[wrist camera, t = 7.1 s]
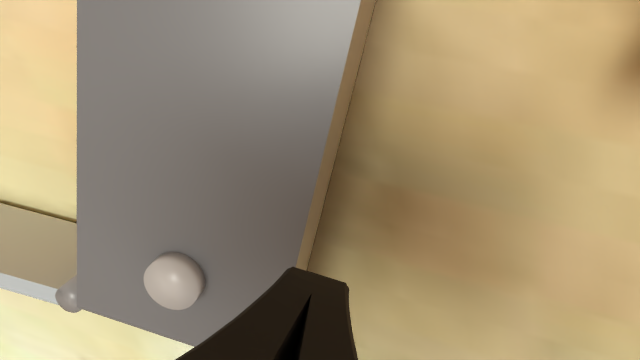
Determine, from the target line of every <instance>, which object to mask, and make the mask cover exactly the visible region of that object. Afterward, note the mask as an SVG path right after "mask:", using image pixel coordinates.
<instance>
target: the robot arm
mask: <svg viewBox="0 0 640 360" xmlns="http://www.w3.org/2000/svg"><path fill="white" fill-rule="evenodd" d="M176 360H358V358H357V353H356V348H355V343H354V339H353V333H352V327H351V319H350V311H349V288H348V286H347V284H346V283H344V282H341V281H338V280H335V279H331V278H328V277H325V276H322V275H318V274H315V273H312V272H309V271H306V270H302V269H299V268H296V267H291V268H288V269H287V270H286V271H285V272H284V273H283V274H282V275H281V276H280V278H279V279H278V280H277V281H276V282H275V283H274V284H273V285H272V286H271V287H270V288H269V289H268V290H267V291H265V292H264V293H263V294H262V295H261V296H260V297H259V298H258V299H257V300H256V301H254V302H253V303H252V304H251V305H250V306H248V307H247V308H246V309H245V310H244V311H243V312H241V313H240V314H239V315H238V316H237V317H235V318H234V319H233V320H232V321H230V322H229V323H228V324H226V325H225V326H223V327H222V328H221V329H219V330H218V331H217V332H215V333H214V334H213V335H211V336H210V337H209V338H207V339H206V340H205V341H203V342H202V343H200V344H199V345H197V346H196V347H194V348H193V349H191V350H190V351H188V352H187V353H185V354H184V355H182V356H180V357H179V358H177V359H176Z"/></svg>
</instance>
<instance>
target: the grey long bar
mask: <svg viewBox="0 0 640 360" xmlns="http://www.w3.org/2000/svg"><path fill="white" fill-rule="evenodd" d="M0 288H2V289H6V290H9V291H12V292H16V293H19V294H23V295H26V296H30V297H33V298H36V299H40V300H43V301H47V302H50V303H54V304H57V305H60V306H61V307H62V308H63V309H64V310H66V311H68V312H73V313H75V312H79V311H80V310H81V309H80V308H77V223H73V222H69V221H66V220H62V219H58V218H55V217H51V216H47V215H43V214H40V213H36V212H32V211H28V210H25V209H21V208H17V207H13V206H10V205H6V204H2V203H0Z"/></svg>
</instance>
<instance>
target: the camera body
mask: <svg viewBox="0 0 640 360" xmlns="http://www.w3.org/2000/svg"><path fill="white" fill-rule="evenodd" d="M375 3H376V0H77V308H80V309H83V310H86V311H89V312H92V313H95V314H98V315H101V316H104V317H107V318H110V319H113V320H116V321H119V322H122V323H125V324H128V325H131V326H134V327H137V328H140V329H143V330H146V331H149V332H152V333H155V334H158V335H161V336H164V337H167V338H170V339H173V340H176V341H179V342H182V343H185V344H188V345H191V346H194V347H196V346H197V345H199V344H200V343H202V342H203V341H205V340H206V339H207V338H209V337H210V336H211V335H213V334H214V333H215V332H217V331H218V330H219V329H221V328H222V327H223V326H225V325H226V324H228V323H229V322H230V321H232V320H233V319H234V318H235V317H237V316H238V315H239V314H240V313H241V312H243V311H244V310H245V309H246V308H247V307H248V306H250V305H251V304H252V303H253V302H254V301H256V300H257V299H258V298H259V297H260V296H261V295H262V294H263V293H264V292H265V291H267V290H268V289H269V288H270V287H271V286H272V285H273V284H274V283H275V282H276V281H277V280H278V279H279V278H280V276H281V275H282V274H283V273H284V272H285V271H286V270H287V269H288V268H291V267H296V268H299V269H302V270H306V271H307V267H308V263H309V260H310V256H311V252H312V248H313V244H314V240H315V236H316V232H317V228H318V225H319V221H320V217H321V213H322V209H323V205H324V201H325V197H326V193H327V189H328V186H329V182H330V178H331V174H332V170H333V166H334V162H335V158H336V154H337V151H338V147H339V143H340V139H341V135H342V131H343V127H344V123H345V119H346V116H347V112H348V108H349V104H350V100H351V96H352V92H353V88H354V84H355V81H356V77H357V73H358V69H359V65H360V61H361V57H362V53H363V49H364V46H365V42H366V38H367V34H368V30H369V26H370V22H371V18H372V14H373V11H374V7H375Z"/></svg>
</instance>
